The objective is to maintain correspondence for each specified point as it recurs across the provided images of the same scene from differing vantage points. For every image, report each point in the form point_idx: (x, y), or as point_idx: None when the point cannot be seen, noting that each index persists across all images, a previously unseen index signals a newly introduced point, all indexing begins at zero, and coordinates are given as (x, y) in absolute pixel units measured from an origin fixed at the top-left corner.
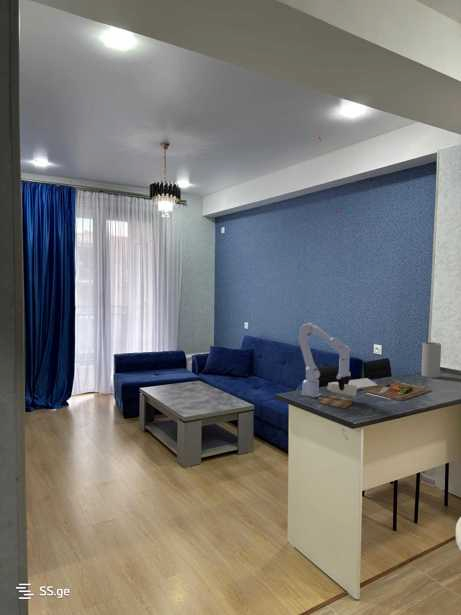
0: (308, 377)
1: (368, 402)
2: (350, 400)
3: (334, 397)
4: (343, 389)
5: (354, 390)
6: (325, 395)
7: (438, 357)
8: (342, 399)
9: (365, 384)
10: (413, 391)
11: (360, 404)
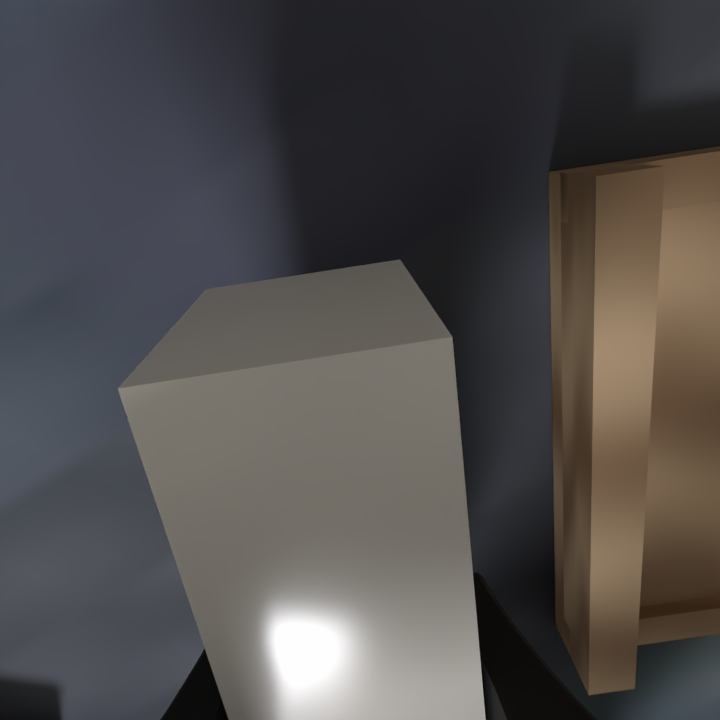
0: None
1: (57, 10)
2: (655, 167)
3: (641, 522)
4: None
5: (339, 307)
6: (634, 670)
7: None
8: (647, 359)
9: None
10: None
11: (369, 48)
